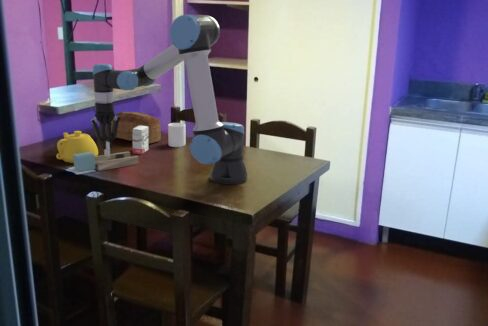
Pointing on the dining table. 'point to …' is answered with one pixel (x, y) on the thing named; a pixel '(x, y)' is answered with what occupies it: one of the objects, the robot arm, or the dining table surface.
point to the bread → (134, 120)
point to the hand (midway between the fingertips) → (107, 156)
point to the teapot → (75, 146)
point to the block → (84, 161)
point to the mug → (176, 134)
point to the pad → (80, 171)
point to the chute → (115, 161)
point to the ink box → (140, 139)
